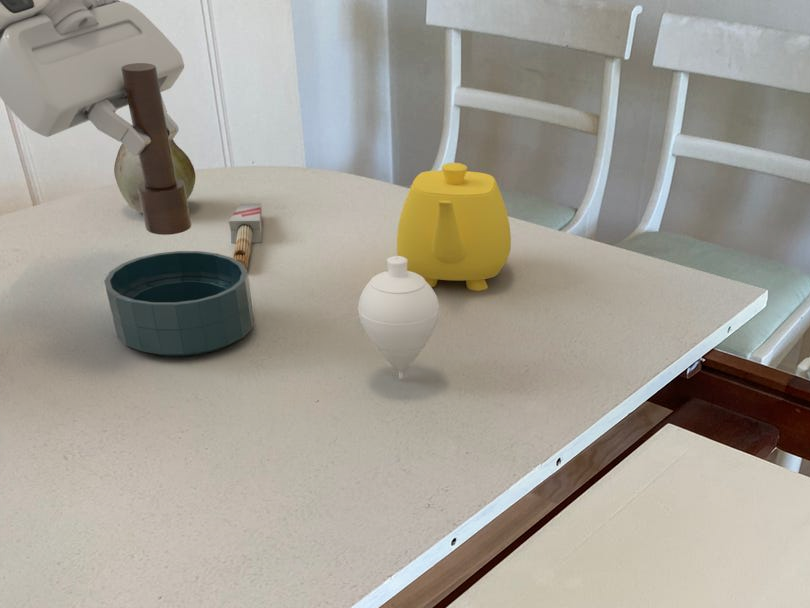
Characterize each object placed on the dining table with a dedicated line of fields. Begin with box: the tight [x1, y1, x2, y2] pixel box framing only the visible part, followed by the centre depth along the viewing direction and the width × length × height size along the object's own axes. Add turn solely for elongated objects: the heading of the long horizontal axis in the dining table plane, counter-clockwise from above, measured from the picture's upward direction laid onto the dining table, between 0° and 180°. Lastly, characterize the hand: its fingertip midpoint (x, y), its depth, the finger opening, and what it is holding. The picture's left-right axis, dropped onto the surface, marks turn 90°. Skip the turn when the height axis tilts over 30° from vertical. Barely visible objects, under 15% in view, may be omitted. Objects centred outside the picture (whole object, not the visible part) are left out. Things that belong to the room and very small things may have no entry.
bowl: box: [103, 250, 255, 357], centre depth 102 cm, size 14×14×6 cm
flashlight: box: [121, 63, 192, 236], centre depth 92 cm, size 4×4×14 cm
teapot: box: [396, 162, 512, 292], centre depth 113 cm, size 13×20×12 cm
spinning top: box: [357, 255, 440, 381], centre depth 93 cm, size 8×8×12 cm
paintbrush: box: [228, 202, 263, 271], centre depth 123 cm, size 4×3×20 cm
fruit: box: [113, 124, 196, 214], centre depth 128 cm, size 10×9×12 cm
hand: (157, 143), depth 91 cm, fingers closed on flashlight, 3 cm apart
